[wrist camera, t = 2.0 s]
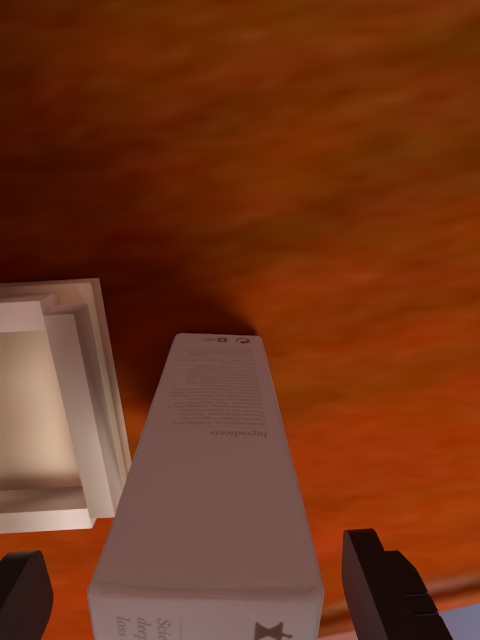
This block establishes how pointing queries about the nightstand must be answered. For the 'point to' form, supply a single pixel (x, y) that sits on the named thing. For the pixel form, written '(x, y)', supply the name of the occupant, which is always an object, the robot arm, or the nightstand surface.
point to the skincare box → (210, 511)
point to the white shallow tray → (58, 408)
